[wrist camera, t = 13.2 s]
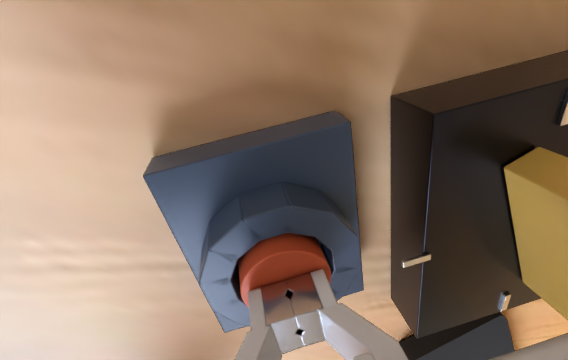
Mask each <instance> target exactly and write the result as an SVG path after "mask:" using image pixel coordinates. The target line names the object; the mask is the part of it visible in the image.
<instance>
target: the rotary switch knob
mask: <svg viewBox="0 0 568 360" xmlns="http://www.w3.org/2000/svg"><path fill="white" fill-rule="evenodd" d="M504 173H505V179H506V185H507V191H508V197H509V203H510V209H511V215H512V221H513V227H514V232H515V238H516V244H517V250H518V256H519V262H520V268H521V274H522V280H523V283H524V284H526V285H527V286H528V287H529V288H530V289H532V290H533V291H534V292H535V293H536V294H537V295H539V296H540V297H541V298H542V299H543V300H544V301H546V302H547V303H548V304H549V305H550V306H552V307H553V308H554V309H555V310H556V311H557V312H559V313H560V314H561V315H562V316H563V317H564V318H566V319H567V320H568V157H565V156H563V155H560V154H557V153H555V152H552V151H550V150H547V149H544V148H542V147H537V148H535V149H534V150H532V151H530V152H529V153H527V154H525V155H524V156H522V157H520V158H518V159H517V160H515V161H513V162H512V163H510V164H508V165H506V166H505V167H504Z"/></svg>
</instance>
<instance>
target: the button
mask: <svg viewBox="0 0 568 360" xmlns="http://www.w3.org/2000/svg"><path fill="white" fill-rule="evenodd" d="M238 264H239V278H240V291H241V297H242V300H243V301H244V303H245V304H246V306H247V307H248V308H249V304H248V291H250V290H253V289H257V288H260V287H264V286H267V285H271V284H275V283H278V282H282V281H286V280H287V279H290V278H294V277H297V276H300V275H303V274H306V273H309V272H314V271H317V270H320V269H323V270H324V272H325V274H326V277H327V279H328V281H329V284H330V282H331V270H330V267H329V265H328V263H327V260H326V258H325V256H324V254H323V252H322V249H321V247H320V245H319V243H318V240H317V239H316V238H315V237H313V236H306V235H299V234H292V233H286V234H282V235H279V236H276V237H272V238H269V239H265V240H262V241H259V242H258V243H257V244H255V245H254V246H253V247H252V248H251V249H250V250H248V251H247V252H246V253H245V254H244V255H242V256H241V257H240V258H239V259H238Z"/></svg>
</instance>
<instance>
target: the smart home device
mask: <svg viewBox="0 0 568 360" xmlns="http://www.w3.org/2000/svg"><path fill="white" fill-rule="evenodd" d="M399 344H400V346H401V348H402V349H403V351H404V353H405V355H406V357H407V358H408V360H490V359H493V358H495V357H498V356H501V355H504V354H507V353H510V352H513V351H515V350H514V346H513V342H512V338H511V334H510V330H509V326H508V322H507V319H506V318H505V316H504V315H503V314H502V313H501V312H497V313H494V314H491V315H488V316H485V317H482V318H479V319H476V320H473V321H470V322H467V323H464V324H461V325H457V326H454V327H451V328H448V329H445V330H442V331H439V332H436V333H433V334H430V335H427V336H424V337H421V338H416V337H415V335H413V336H411V337H409V338H407V339H405V340H403V341H401V342H400V343H399Z"/></svg>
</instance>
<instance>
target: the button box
mask: <svg viewBox="0 0 568 360" xmlns="http://www.w3.org/2000/svg"><path fill="white" fill-rule="evenodd" d="M143 177H144V179H145V181H146V183H147V185H148V187H149V189H150V191H151V193H152V195H153V197H154V198H155V200H156V202H157V204H158V206H159V208H160V210H161V212H162V214H163V216H164V218H165V220H166V221H167V223H168V225H169V227H170V229H171V231H172V233H173V235H174V237H175V239H176V241H177V243H178V244H179V246H180V248H181V250H182V252H183V254H184V256H185V258H186V260H187V262H188V264H189V265H190V267H191V269H192V271H193V273H194V275H195V277H196V279H197V281H198V283H199V285H200V287H201V289H202V291H203V293H204V295H205V297H206V299H207V301H208V303H209V305H210V306H211V308H212V310H213V311H214V313H215V315H216V317H217V319H218V321H219V323H220V325H221V327H222V329H223V331H224V332H225V333H226V332H229V331H232V330H236V329H239V328H242V327H246V326H251V324H250V314H249V308H248V307H247V306H246V304H245V303H244V301H243V300H242V297H241V291H240V278H239V264H238V259H239V258H240V257H241V256H242V255H244V254H245V253H246V252H247V251H248V250H250V249H251V248H252V247H253V246H254V245H255V244H257V243H258V242H259V241H262V240H265V239H269V238H272V237H276V236H279V235H282V234H286V233H292V234H299V235H306V236H313V237H315V238H316V239H317V240H318V243H319V245H320V247H321V249H322V252H323V254H324V256H325V258H326V260H327V263H328V265H329V267H330V270H331V282H330V286H331V289H332V291H333V293H334V296H335V298H336V300H339V299H340V298H342V297H343V296H346V295H350V294H353V293H356V292H359V291H363V290H364V287H363V274H362V261H361V248H360V236H359V223H358V210H357V197H356V184H355V171H354V158H353V145H352V132H351V122H350V121H349V120H348V119H346V118H345V117H344V116H342V115H341V114H340V113H338V112H337V111H331V112H328V113H324V114H320V115H316V116H312V117H308V118H304V119H300V120H296V121H293V122H289V123H285V124H281V125H277V126H273V127H269V128H265V129H262V130H258V131H254V132H250V133H246V134H242V135H238V136H234V137H230V138H227V139H223V140H219V141H215V142H211V143H207V144H203V145H199V146H195V147H192V148H188V149H184V150H180V151H176V152H172V153H168V154H164V155H161V156H157V157H153V158H152V159H151V161H150V163H149V165H148V167H147V169H146V171H145V173H144V175H143Z"/></svg>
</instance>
